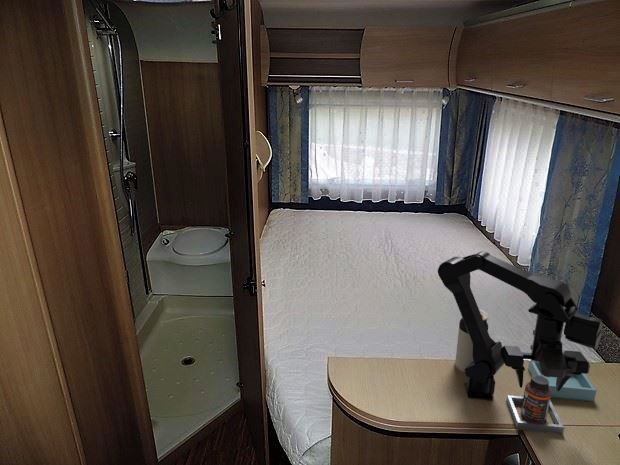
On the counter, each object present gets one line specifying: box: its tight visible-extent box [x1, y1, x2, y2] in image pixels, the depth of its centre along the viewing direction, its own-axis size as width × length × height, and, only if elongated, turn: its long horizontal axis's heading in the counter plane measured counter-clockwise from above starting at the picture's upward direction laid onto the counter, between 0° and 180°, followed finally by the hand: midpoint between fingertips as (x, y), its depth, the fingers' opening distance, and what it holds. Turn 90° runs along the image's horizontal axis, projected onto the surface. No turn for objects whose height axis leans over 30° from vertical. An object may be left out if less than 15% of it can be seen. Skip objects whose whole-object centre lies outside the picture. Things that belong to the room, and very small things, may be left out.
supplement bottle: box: [520, 375, 552, 423], centre depth 112 cm, size 6×6×11 cm
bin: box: [527, 361, 597, 403], centre depth 126 cm, size 13×13×4 cm
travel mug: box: [454, 308, 490, 374], centre depth 132 cm, size 8×8×18 cm
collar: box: [505, 394, 565, 435], centre depth 114 cm, size 11×11×2 cm
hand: (538, 388), depth 111 cm, fingers open, 8 cm apart
